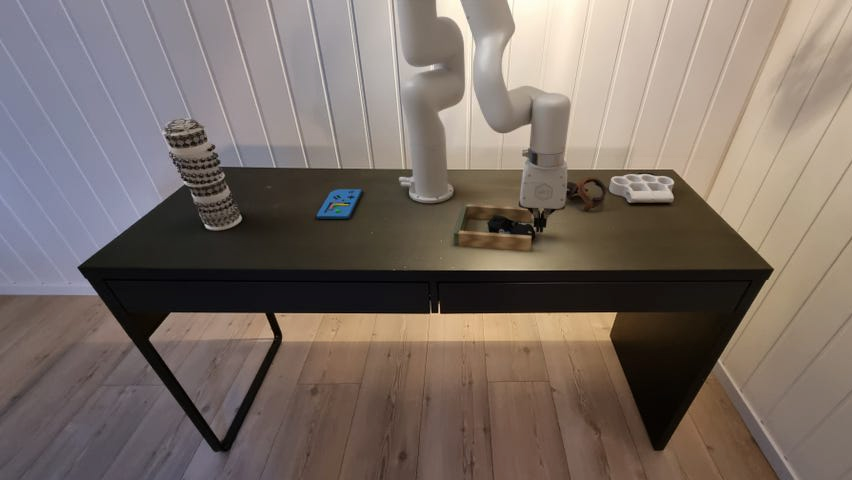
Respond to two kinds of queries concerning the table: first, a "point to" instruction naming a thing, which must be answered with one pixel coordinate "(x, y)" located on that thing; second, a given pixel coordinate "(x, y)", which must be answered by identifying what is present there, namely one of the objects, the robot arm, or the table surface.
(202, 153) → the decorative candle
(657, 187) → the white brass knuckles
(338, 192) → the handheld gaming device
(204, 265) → the table surface
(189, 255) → the table surface
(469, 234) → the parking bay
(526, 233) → the toy car
